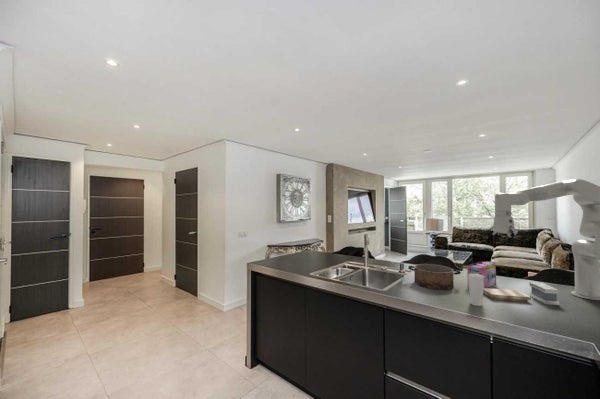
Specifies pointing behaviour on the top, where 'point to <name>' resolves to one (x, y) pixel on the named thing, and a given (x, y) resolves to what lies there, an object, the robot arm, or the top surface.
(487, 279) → the gum box
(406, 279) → the top surface
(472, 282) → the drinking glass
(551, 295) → the block
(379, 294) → the top surface
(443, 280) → the cooking pot
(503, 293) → the wavy cream panel
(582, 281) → the robot arm
